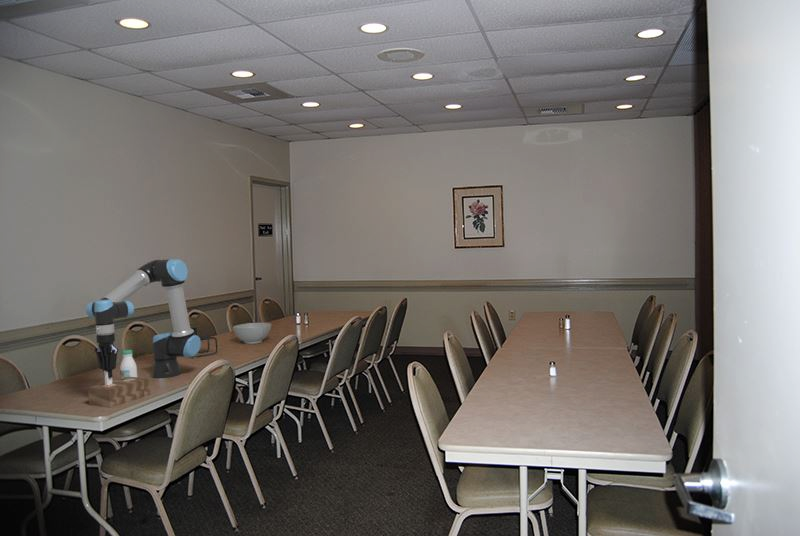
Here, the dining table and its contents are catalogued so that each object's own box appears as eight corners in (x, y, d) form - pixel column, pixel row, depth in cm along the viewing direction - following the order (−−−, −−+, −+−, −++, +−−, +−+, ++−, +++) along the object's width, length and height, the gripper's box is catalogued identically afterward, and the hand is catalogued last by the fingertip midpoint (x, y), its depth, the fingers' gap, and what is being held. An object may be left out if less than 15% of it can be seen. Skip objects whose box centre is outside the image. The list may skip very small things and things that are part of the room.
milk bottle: (134, 386, 303) (131, 348, 301) (141, 389, 298) (138, 349, 296) (118, 390, 297) (115, 351, 295) (125, 392, 292) (122, 352, 290)
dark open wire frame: (183, 356, 382) (181, 322, 381) (209, 351, 393) (207, 318, 392) (192, 358, 372) (190, 323, 371) (218, 354, 384) (216, 320, 383)
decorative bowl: (277, 342, 419) (276, 325, 418) (239, 347, 406) (238, 329, 405) (265, 337, 442) (264, 321, 441) (229, 342, 429) (228, 325, 428)
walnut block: (129, 392, 292) (128, 376, 291) (149, 394, 286) (148, 378, 285) (89, 404, 272) (88, 387, 271) (110, 407, 266) (109, 389, 266)
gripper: (88, 334, 271) (91, 385, 273) (108, 335, 266) (111, 387, 267) (102, 332, 278) (106, 381, 279) (122, 332, 273) (125, 383, 274)
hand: (108, 384), depth 273 cm, fingers closed
